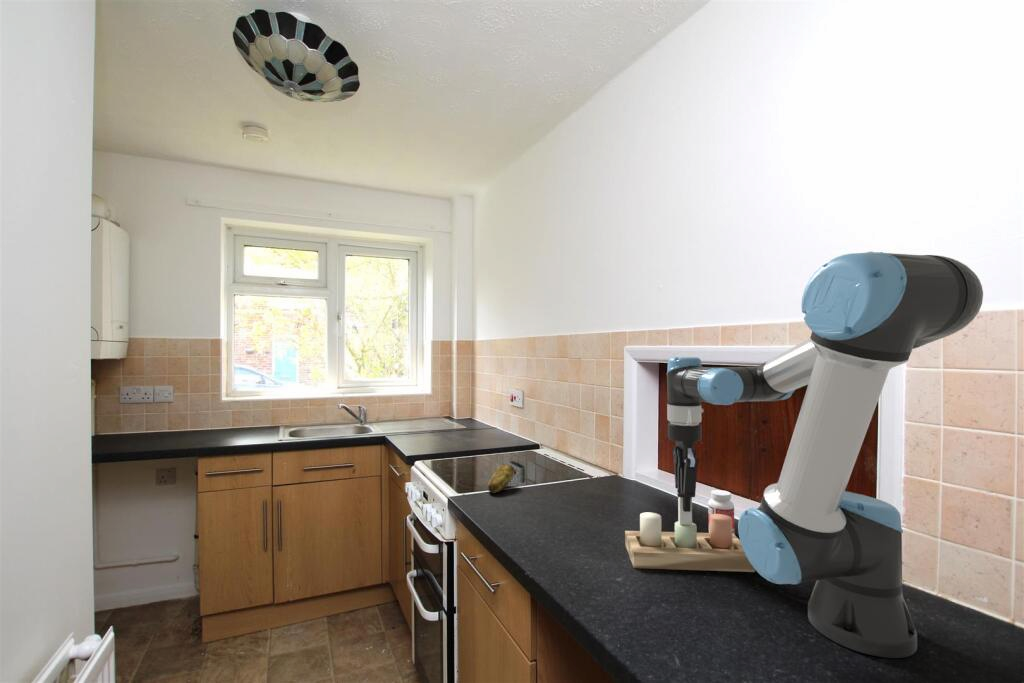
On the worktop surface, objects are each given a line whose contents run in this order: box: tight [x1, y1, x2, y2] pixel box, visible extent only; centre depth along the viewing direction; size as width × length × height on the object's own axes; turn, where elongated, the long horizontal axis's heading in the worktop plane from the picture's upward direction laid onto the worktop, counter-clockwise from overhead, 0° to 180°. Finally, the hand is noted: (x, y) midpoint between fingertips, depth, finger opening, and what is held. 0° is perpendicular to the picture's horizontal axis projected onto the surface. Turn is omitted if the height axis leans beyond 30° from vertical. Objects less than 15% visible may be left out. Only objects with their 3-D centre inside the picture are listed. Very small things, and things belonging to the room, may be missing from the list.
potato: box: [487, 464, 515, 494], centre depth 160 cm, size 8×13×8 cm, turn 134°
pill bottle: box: [707, 489, 736, 535], centre depth 121 cm, size 6×6×11 cm
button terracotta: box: [710, 514, 733, 548], centre depth 107 cm, size 5×5×6 cm
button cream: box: [639, 511, 662, 546], centre depth 109 cm, size 5×5×6 cm
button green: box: [674, 520, 698, 548], centre depth 108 cm, size 5×5×6 cm
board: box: [624, 530, 756, 573], centre depth 108 cm, size 12×26×4 cm, turn 85°
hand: (685, 523), depth 108 cm, fingers closed
